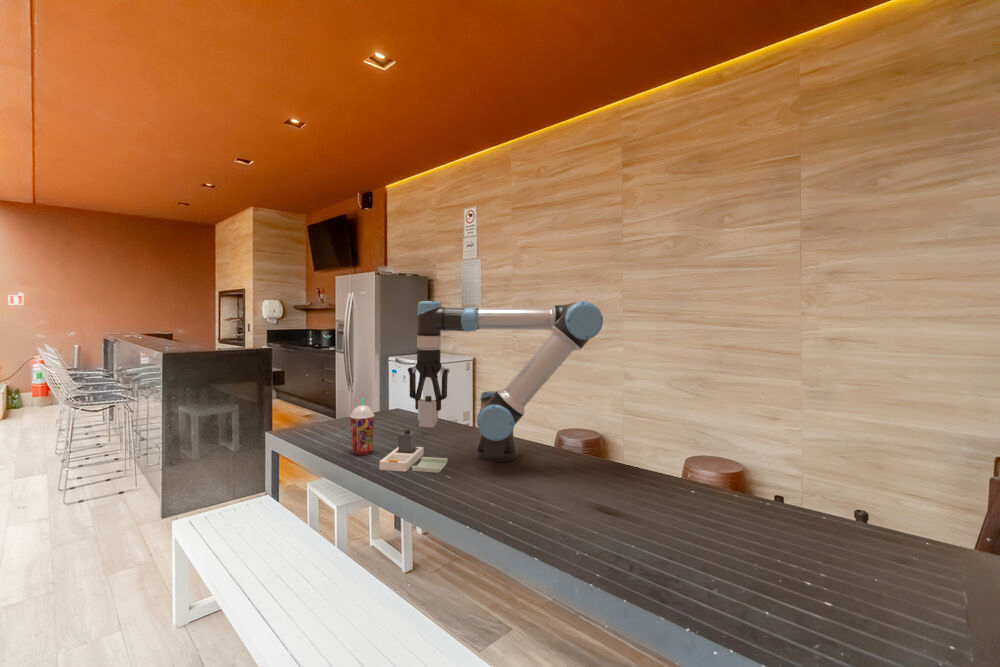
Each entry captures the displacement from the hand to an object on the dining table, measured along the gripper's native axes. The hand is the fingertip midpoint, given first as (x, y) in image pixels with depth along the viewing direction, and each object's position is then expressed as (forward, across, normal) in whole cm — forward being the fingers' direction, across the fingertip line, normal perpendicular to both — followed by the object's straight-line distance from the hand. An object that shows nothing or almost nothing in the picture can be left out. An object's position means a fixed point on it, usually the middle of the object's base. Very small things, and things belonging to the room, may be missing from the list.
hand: (428, 419), depth 146 cm
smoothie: (+16, +28, -10) cm, 34 cm away
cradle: (+16, -1, 0) cm, 16 cm away
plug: (+2, 0, 0) cm, 2 cm away
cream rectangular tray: (+16, +10, -3) cm, 19 cm away
